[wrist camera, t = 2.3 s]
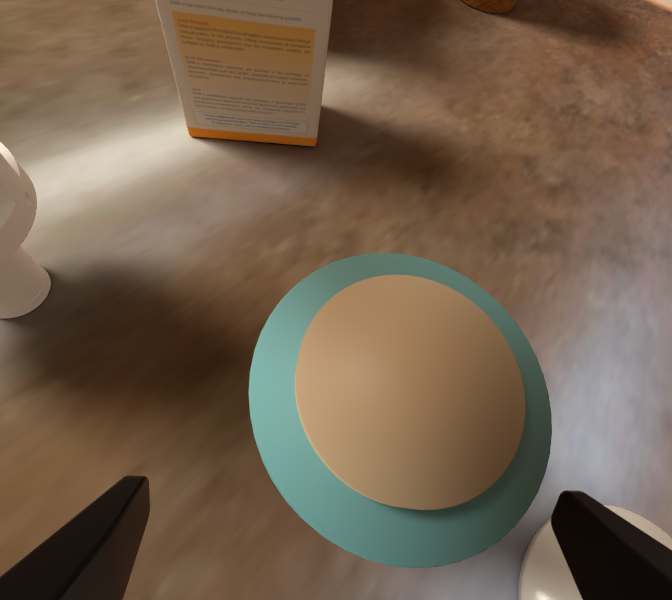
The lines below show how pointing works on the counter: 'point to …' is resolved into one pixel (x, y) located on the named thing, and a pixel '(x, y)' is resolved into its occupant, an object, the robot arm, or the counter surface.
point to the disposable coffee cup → (492, 5)
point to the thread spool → (400, 410)
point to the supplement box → (249, 66)
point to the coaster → (564, 561)
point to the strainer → (18, 242)
